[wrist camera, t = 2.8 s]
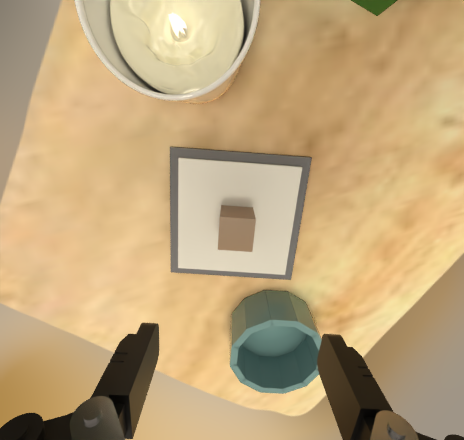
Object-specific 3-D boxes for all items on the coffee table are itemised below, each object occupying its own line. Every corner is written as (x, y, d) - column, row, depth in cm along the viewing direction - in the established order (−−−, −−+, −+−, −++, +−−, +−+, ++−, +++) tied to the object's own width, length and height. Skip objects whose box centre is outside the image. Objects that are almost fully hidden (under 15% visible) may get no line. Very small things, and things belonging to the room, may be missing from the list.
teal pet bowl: (318, 293, 34) (334, 323, 28) (304, 358, 37) (316, 395, 32) (233, 288, 33) (234, 317, 28) (228, 353, 37) (227, 390, 32)
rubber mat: (310, 157, 28) (311, 157, 28) (290, 278, 33) (290, 279, 33) (170, 146, 28) (169, 147, 27) (171, 270, 33) (170, 272, 32)
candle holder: (165, -30, 23) (99, -187, 11) (265, 27, 24) (295, -63, 13) (131, 84, 26) (52, 50, 14) (222, 129, 27) (215, 129, 16)
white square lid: (300, 166, 28) (313, 173, 24) (284, 272, 32) (292, 294, 28) (179, 157, 28) (169, 162, 23) (178, 265, 32) (170, 287, 28)
